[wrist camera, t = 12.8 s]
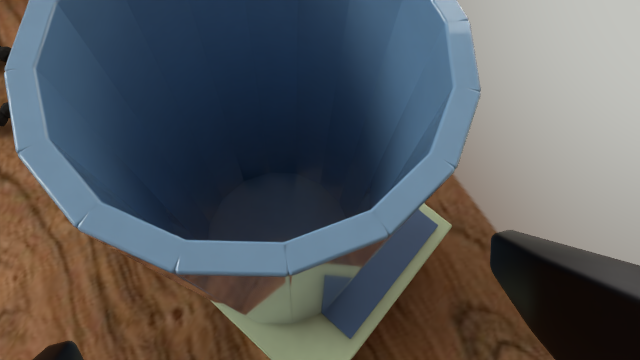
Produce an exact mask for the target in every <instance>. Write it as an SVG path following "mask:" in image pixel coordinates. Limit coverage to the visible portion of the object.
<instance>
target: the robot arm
mask: <svg viewBox="0 0 640 360" xmlns="http://www.w3.org/2000/svg"><path fill="white" fill-rule="evenodd" d="M490 266H491V270H492V272H493V274H494V276H495V278H496V279H497V280H498V282H499V283H500V285H501V286H502V288H503V289H504V291H505V292H506V294H507V295H508V297H509V298H510V300H511V301H512V303H513V304H514V306H515V307H516V309H517V310H518V312H519V313H520V315H521V316H522V318H523V319H524V321H525V322H526V324H527V325H528V326H529V328H530V329H531V330H532V332H533V333H534V334H535V336H536V337H537V338H538V339H539V341H540V342H541V343H542V344H543V345H544V347H545V348H546V349H547V350H548V351H549V353H550V354H551V355H552V356H553V358H554V359H555V360H640V266H639V265H635V264H632V263H628V262H625V261H621V260H618V259H614V258H610V257H607V256H603V255H600V254H596V253H592V252H589V251H585V250H582V249H577V248H574V247H571V246H567V245H564V244H560V243H556V242H553V241H549V240H546V239H542V238H538V237H535V236H531V235H528V234H524V233H520V232H517V231H513V230H507V231H503V232H499V233H495V234H494V235H493V236H492V238H491V256H490ZM33 360H84V359H83V357H82V355H81V353H80V351H79V349H78V347H77V346H76V344H75V343H74V342H72V341H65V342H61V343H57V344H53V345H50V346H48V347H47V348H45V349H44V350H43V351H42V352H41V353H40V354H38V355H37V356H36V357H35V358H34V359H33Z"/></svg>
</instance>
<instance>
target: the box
mask: <svg viewBox="0 0 640 360" xmlns="http://www.w3.org/2000/svg"><path fill="white" fill-rule="evenodd" d="M451 227H452V225H451V224H449V223H448V222H447V221H446V220H444V219H443V218H442V217H441V216H439V215H438V214H437V213H435V212H434V211H433V210H432V209H430V208H429V207H428V206H426V205H425V204H424V205H423V206H422V207H421V208H420V209H419V211H418V212H417V213H416V214H415V215H414V216H413V217H412V218H411V219H410V220H409V221H408V222H407V223H406V225H405V226H404V227H403V228H402V229H401V230H400V231H399V232H398V233H397V234H396V235H395V236H394V237H393V239H392V240H391V241H390V242H389V243H388V244H387V245H386V246H385V247H384V248H383V249H382V250H381V251H380V253H379V254H378V255H377V256H376V257H375V258H374V259H373V260H372V261H371V262H370V263H369V264H368V265H367V267H366V268H365V269H364V270H363V271H362V272H361V273H360V274H359V275H358V276H357V277H356V278H355V279H354V281H353V282H352V283H351V284H350V285H349V286H348V287H347V288H346V289H345V290H344V291H343V292H342V293H341V294H340V295H339V296H338V297H337V298H336V299H335V300H334V301H333V302H332V303H331V304H330V305H329V307H328V308H327V309H326V310H324V311H322V312H320V313H317V314H315V315H313V316H311V317H309V318H307V319H304V320H301V321H298V322H296V323H292V324H267V323H256V322H254V321H252V320H250V319H248V318H245V317H243V316H241V315H239V314H237V313H235V312H232V311H230V310H228V309H226V308H224V307H222V306H221V305H219V304H217V303H215V302H213V301H211V300H210V301H211V302H212V303H213V304H214V305H215V306H216V307H217V308H218V309H219V310H221V311H222V312H223V313H224V314H225V315H226V316H227V317H228V318H229V319H230V320H231V321H232V322H233V323H234V324H235V325H236V326H237V327H238V328H239V329H240V330H241V331H242V332H243V333H244V334H245V335H246V336H247V337H248V338H249V339H250V340H251V341H252V342H254V343H255V344H256V345H257V346H258V347H259V348H260V349H261V350H262V351H263V352H264V353H265V354H266V355H267V356H268V357H269V358H270V359H271V360H351V359H352V358H353V357H354V355H355V354H356V353H357V351H358V350H359V349H360V347H361V346H362V345H363V343H364V342H365V341H366V340H367V338H368V337H369V336H370V334H371V333H372V332H373V330H374V329H375V328H376V326H377V325H378V324H379V322H380V321H381V320H382V318H383V317H384V316H385V314H386V313H387V312H388V310H389V309H390V308H391V306H392V305H393V304H394V303H395V301H396V300H397V299H398V297H399V296H400V295H401V293H402V292H403V291H404V289H405V288H406V287H407V285H408V284H409V283H410V281H411V280H412V279H413V277H414V276H415V275H416V273H417V272H418V271H419V269H420V268H421V267H422V266H423V264H424V263H425V262H426V260H427V259H428V258H429V256H430V255H431V254H432V252H433V251H434V250H435V248H436V247H437V246H438V244H439V243H440V242H441V240H442V239H443V238H444V236H445V235H446V234H447V232H448V231H449V230H450V229H451Z"/></svg>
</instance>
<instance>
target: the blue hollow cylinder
mask: <svg viewBox="0 0 640 360" xmlns="http://www.w3.org/2000/svg"><path fill="white" fill-rule="evenodd" d="M4 78H5V84H6V91H7V97H8V104H9V110H10V117H11V123H12V130H13V136H14V143H15V149H16V152H17V153H18V157H19V159H20V160H21V161H22V162H23V164H24V165H25V166H26V167H27V169H28V170H29V171H30V172H31V174H32V175H33V176H34V177H35V179H36V180H37V181H38V182H39V184H40V185H41V186H42V187H43V189H44V190H45V191H46V193H47V194H48V195H49V196H50V198H51V199H52V200H53V201H54V203H55V204H56V205H57V206H58V208H59V209H60V210H61V211H62V213H63V214H64V215H65V216H66V218H67V219H68V220H69V221H70V223H71V224H72V225H73V226H74V227H76V228H77V229H78V230H79V231H80V232H82V233H84V234H86V235H88V236H90V237H92V238H93V239H95V240H97V241H99V242H101V243H103V244H105V245H107V246H109V247H111V248H112V249H114V250H116V251H118V252H120V253H122V254H124V255H126V256H128V257H129V258H131V259H133V260H135V261H137V262H139V263H141V264H143V265H145V266H147V267H148V268H150V269H152V270H154V271H156V272H158V273H160V274H162V275H164V276H166V277H167V278H169V279H171V280H173V281H175V282H177V283H179V284H181V285H183V286H185V287H186V288H188V289H190V290H192V291H194V292H196V293H198V294H200V295H202V296H203V297H205V298H207V299H209V300H211V301H213V302H215V303H217V304H219V305H221V306H222V307H224V308H226V309H228V310H230V311H232V312H235V313H237V314H239V315H241V316H243V317H245V318H248V319H250V320H252V321H254V322H256V323H267V324H292V323H296V322H298V321H301V320H304V319H307V318H309V317H311V316H313V315H315V314H317V313H320V312H322V311H324V310H326V309H327V308H328V307H329V305H330V304H331V303H332V302H333V301H334V300H335V299H336V298H337V297H338V296H339V295H340V294H341V293H342V292H343V291H344V290H345V289H346V288H347V287H348V286H349V285H350V284H351V283H352V282H353V281H354V279H355V278H356V277H357V276H358V275H359V274H360V273H361V272H362V271H363V270H364V269H365V268H366V267H367V265H368V264H369V263H370V262H371V261H372V260H373V259H374V258H375V257H376V256H377V255H378V254H379V253H380V251H381V250H382V249H383V248H384V247H385V246H386V245H387V244H388V243H389V242H390V241H391V240H392V239H393V237H394V236H395V235H396V234H397V233H398V232H399V231H400V230H401V229H402V228H403V227H404V226H405V225H406V223H407V222H408V221H409V220H410V219H411V218H412V217H413V216H414V215H415V214H416V213H417V212H418V211H419V209H420V208H421V207H422V206H423V205H424V204H425V203H426V202H427V201H428V200H429V199H430V198H431V197H432V195H433V194H434V193H435V192H436V191H437V190H438V189H439V188H440V187H441V186H442V185H443V184H444V183H445V181H446V180H447V179H448V178H449V177H450V176H451V175H452V174H453V173H454V170H455V169H456V168H457V166H458V163H459V160H460V157H461V154H462V151H463V148H464V145H465V142H466V139H467V136H468V132H469V129H470V126H471V123H472V120H473V117H474V114H475V111H476V108H477V105H478V101H479V99H480V91H481V88H480V82H479V76H478V70H477V63H476V57H475V51H474V44H473V38H472V32H471V26H470V22H469V21H468V17H467V16H466V14H465V13H464V11H463V9H462V8H461V6H460V5H459V3H458V2H457V0H29V2H28V5H27V7H26V10H25V13H24V16H23V18H22V21H21V24H20V27H19V30H18V32H17V35H16V38H15V41H14V43H13V46H12V49H11V52H10V55H9V57H8V60H7V63H6V66H5V72H4Z"/></svg>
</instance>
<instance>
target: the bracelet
mask: <svg viewBox="0 0 640 360" xmlns="http://www.w3.org/2000/svg"><path fill="white" fill-rule="evenodd" d="M11 49H12V48H9V47H1V46H0V59H1V60H2V61H5V62H7V60H8V57H9V55H10V52H11ZM8 118H11V117H10V110H9V104H8V102H7V103H3V105H2V106H1V108H0V126H4V125H5V124H6V123H7V121H8Z"/></svg>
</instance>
